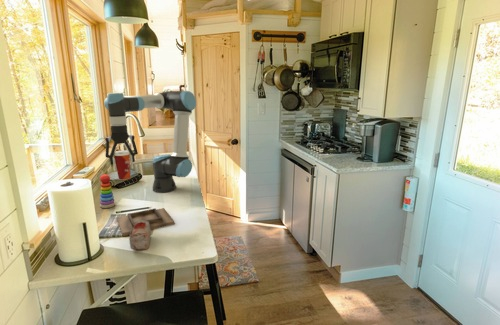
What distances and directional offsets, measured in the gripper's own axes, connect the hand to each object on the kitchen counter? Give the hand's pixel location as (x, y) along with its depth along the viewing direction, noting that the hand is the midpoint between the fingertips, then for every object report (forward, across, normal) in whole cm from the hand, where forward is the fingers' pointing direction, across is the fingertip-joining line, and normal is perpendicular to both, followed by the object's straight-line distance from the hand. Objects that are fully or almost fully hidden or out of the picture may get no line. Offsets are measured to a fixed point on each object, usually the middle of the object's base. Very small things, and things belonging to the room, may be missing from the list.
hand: (123, 169), depth 154 cm
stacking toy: (+25, +9, -20) cm, 34 cm away
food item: (+26, 0, +36) cm, 44 cm away
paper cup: (+5, 0, 0) cm, 5 cm away
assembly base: (+25, -6, +14) cm, 29 cm away
